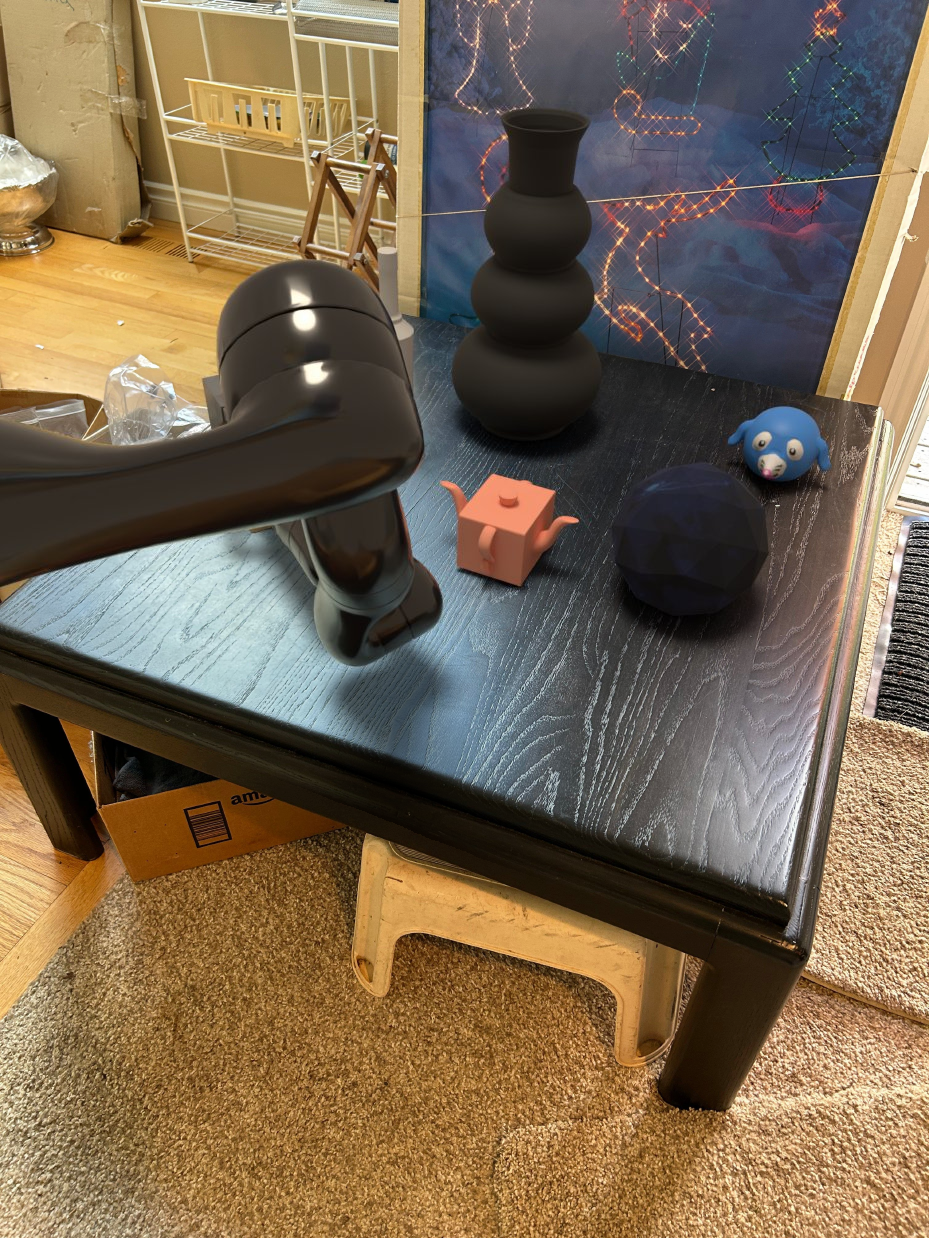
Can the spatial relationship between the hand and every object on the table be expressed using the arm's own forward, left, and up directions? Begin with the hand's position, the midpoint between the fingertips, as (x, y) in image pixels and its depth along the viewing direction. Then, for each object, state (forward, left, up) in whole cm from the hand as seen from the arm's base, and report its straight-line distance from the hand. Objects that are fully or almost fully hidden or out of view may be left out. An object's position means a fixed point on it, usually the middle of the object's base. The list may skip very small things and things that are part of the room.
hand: (250, 423), depth 96 cm
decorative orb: (+38, -28, -9) cm, 48 cm away
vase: (+34, +8, -9) cm, 36 cm away
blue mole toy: (+58, -12, -9) cm, 60 cm away
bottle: (+16, +3, -9) cm, 19 cm away
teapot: (+23, -18, -9) cm, 31 cm away
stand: (0, +1, -9) cm, 9 cm away
